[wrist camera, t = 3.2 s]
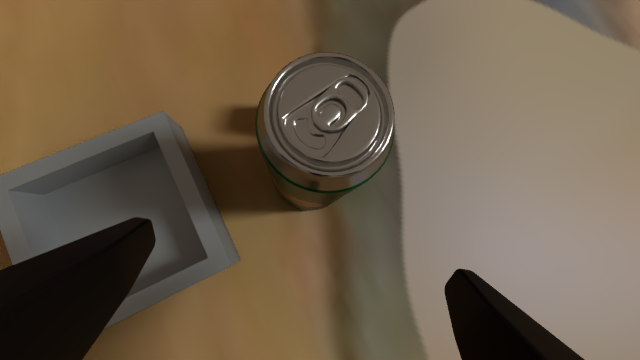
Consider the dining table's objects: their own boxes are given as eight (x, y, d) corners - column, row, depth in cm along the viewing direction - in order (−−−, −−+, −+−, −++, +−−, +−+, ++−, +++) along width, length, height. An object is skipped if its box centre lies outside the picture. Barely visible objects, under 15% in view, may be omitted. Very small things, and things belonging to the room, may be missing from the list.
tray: (240, 259, 20) (231, 265, 17) (86, 336, 18) (45, 358, 15) (181, 127, 21) (162, 110, 18) (30, 188, 19) (-17, 181, 16)
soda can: (260, 176, 21) (216, 109, 9) (308, 129, 22) (328, 12, 10) (310, 225, 20) (333, 223, 9) (357, 176, 21) (436, 114, 10)
